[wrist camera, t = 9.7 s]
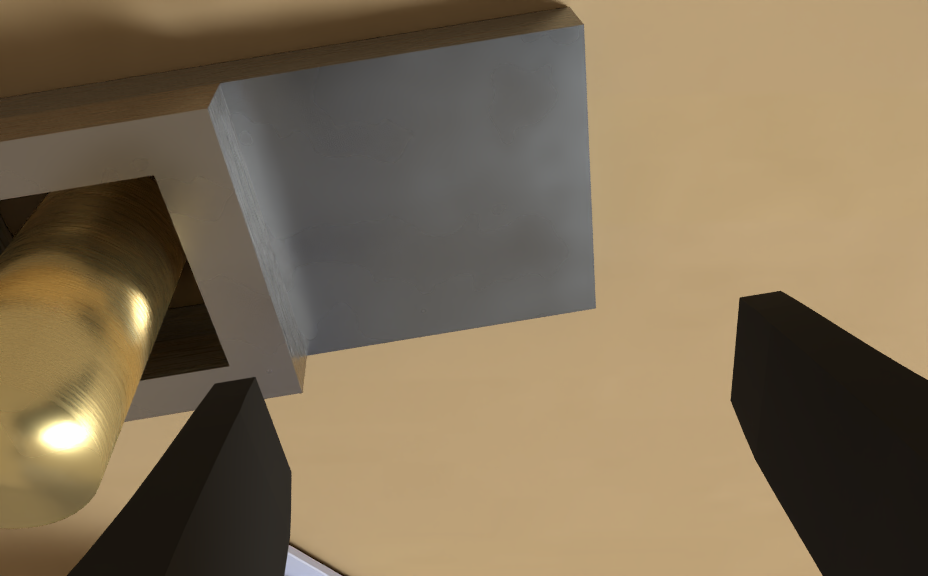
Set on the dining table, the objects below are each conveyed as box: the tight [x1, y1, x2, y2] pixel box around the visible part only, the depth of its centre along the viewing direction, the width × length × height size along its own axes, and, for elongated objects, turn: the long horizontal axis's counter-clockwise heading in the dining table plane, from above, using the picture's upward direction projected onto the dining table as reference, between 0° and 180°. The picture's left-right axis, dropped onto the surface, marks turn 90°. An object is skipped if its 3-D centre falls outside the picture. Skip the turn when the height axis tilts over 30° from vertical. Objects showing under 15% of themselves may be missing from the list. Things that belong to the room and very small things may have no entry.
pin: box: [0, 176, 187, 529], centre depth 17 cm, size 4×4×8 cm
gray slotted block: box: [0, 7, 596, 422], centre depth 19 cm, size 24×8×3 cm, turn 97°
